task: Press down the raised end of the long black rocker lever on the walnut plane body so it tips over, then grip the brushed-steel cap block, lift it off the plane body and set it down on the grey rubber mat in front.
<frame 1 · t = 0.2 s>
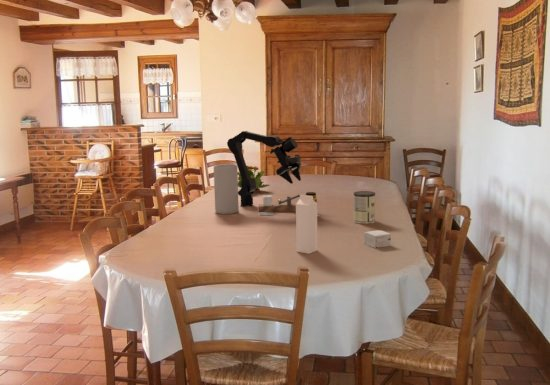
hand: (296, 181, 288), 15 cm above the table, tool tilted 30°, fingers open, 9 cm apart
small box: (377, 245, 216), on the table
condiment: (309, 216, 273), on the table
potted flower: (252, 191, 355), on the table
milk: (306, 251, 208), on the table
lever: (288, 198, 288), point 7 cm above the table, hinge at -20.0°
cylinder vase: (227, 212, 287), on the table
coffee can: (364, 221, 258), on the table
rubber mat: (266, 214, 280), on the table
plane body: (277, 210, 289), on the table
cap block: (267, 205, 288), point 3 cm above the table, touching plane body
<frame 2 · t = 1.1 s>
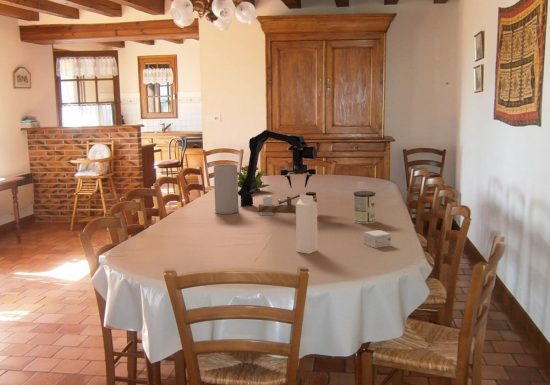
hand: (298, 187, 287), 12 cm above the table, tool pointing down, fingers open, 7 cm apart
nothing on the table moved.
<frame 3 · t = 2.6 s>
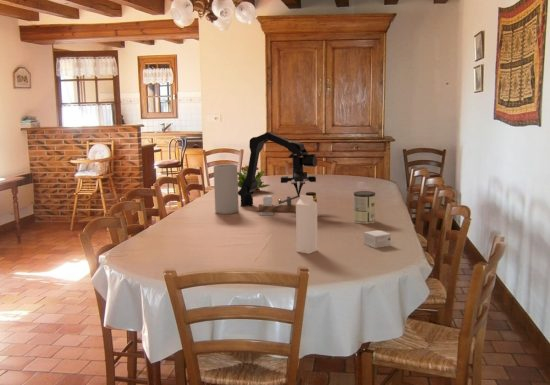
hand: (298, 195, 288), 8 cm above the table, tool pointing down, fingers closed, pressing on lever
lever: (288, 198, 288), point 7 cm above the table, hinge at -18.4°, touching gripper
everything else where it was.
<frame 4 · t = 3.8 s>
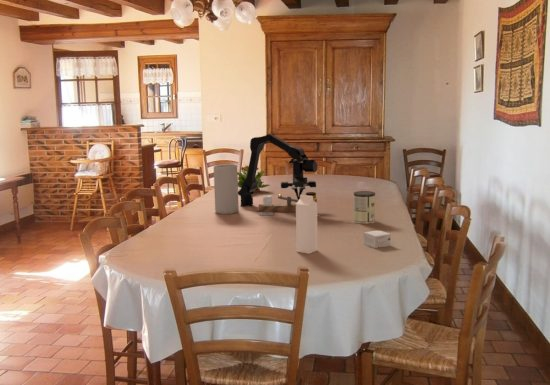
hand: (298, 200, 288), 5 cm above the table, tool pointing down, fingers closed, pressing on lever
lever: (289, 198, 288), point 7 cm above the table, hinge at 12.5°, touching gripper
everything else where it was.
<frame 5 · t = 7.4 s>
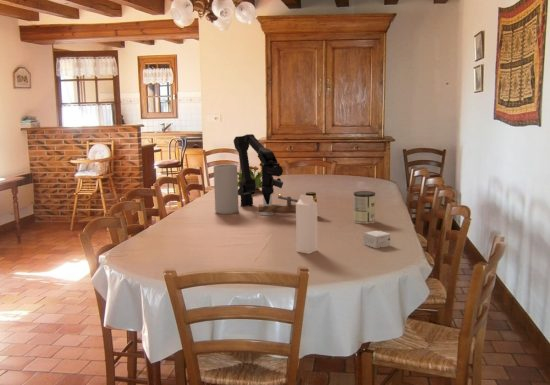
hand: (267, 203, 288), 4 cm above the table, tool pointing down, fingers closed on cap block, 4 cm apart
lever: (289, 198, 288), point 7 cm above the table, hinge at 12.6°
cap block: (267, 205, 288), point 3 cm above the table, touching gripper, plane body
everything else where it was.
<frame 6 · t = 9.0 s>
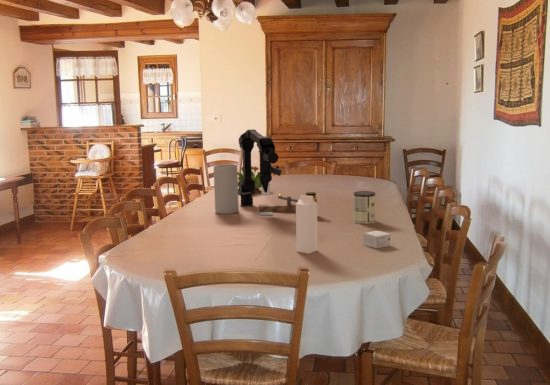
hand: (265, 191, 278), 12 cm above the table, tool pointing down, fingers closed on cap block, 4 cm apart
cap block: (266, 193, 278), point 11 cm above the table, touching gripper
everything else where it was.
when the fingers open (3 cm above the table, at t = 10.9 s): cap block drops 2 cm, resting on rubber mat.
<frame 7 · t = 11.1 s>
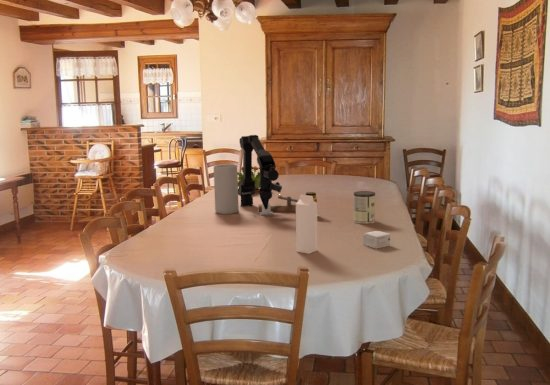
hand: (266, 208, 279), 3 cm above the table, tool pointing down, fingers open, 7 cm apart
cap block: (266, 213, 280), resting on rubber mat
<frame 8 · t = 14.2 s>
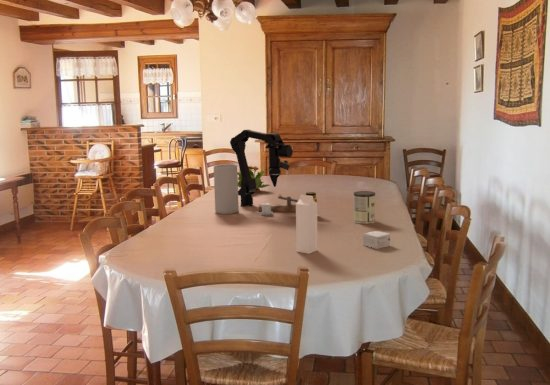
hand: (274, 185, 291), 13 cm above the table, tool pointing down, fingers open, 9 cm apart
at the end: cap block inside the target area on the rubber mat (0.0 cm from its centre), point 0.4 cm above the rubber mat's base; cap block tilted 0°; lever at +13° (first picture: -20°) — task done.
